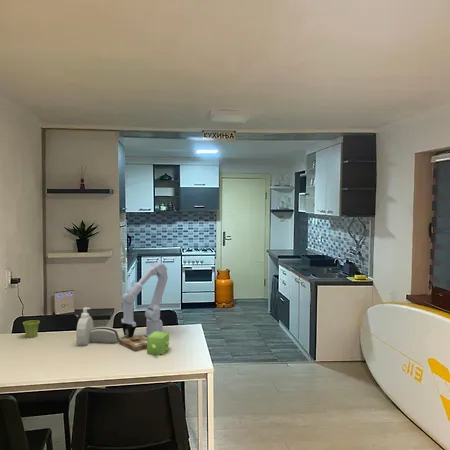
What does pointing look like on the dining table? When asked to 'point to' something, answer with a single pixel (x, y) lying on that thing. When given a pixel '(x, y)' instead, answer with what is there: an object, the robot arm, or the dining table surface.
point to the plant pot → (31, 328)
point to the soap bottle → (84, 328)
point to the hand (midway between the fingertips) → (128, 336)
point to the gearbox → (157, 342)
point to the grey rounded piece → (104, 335)
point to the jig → (134, 343)
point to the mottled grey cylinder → (126, 333)
